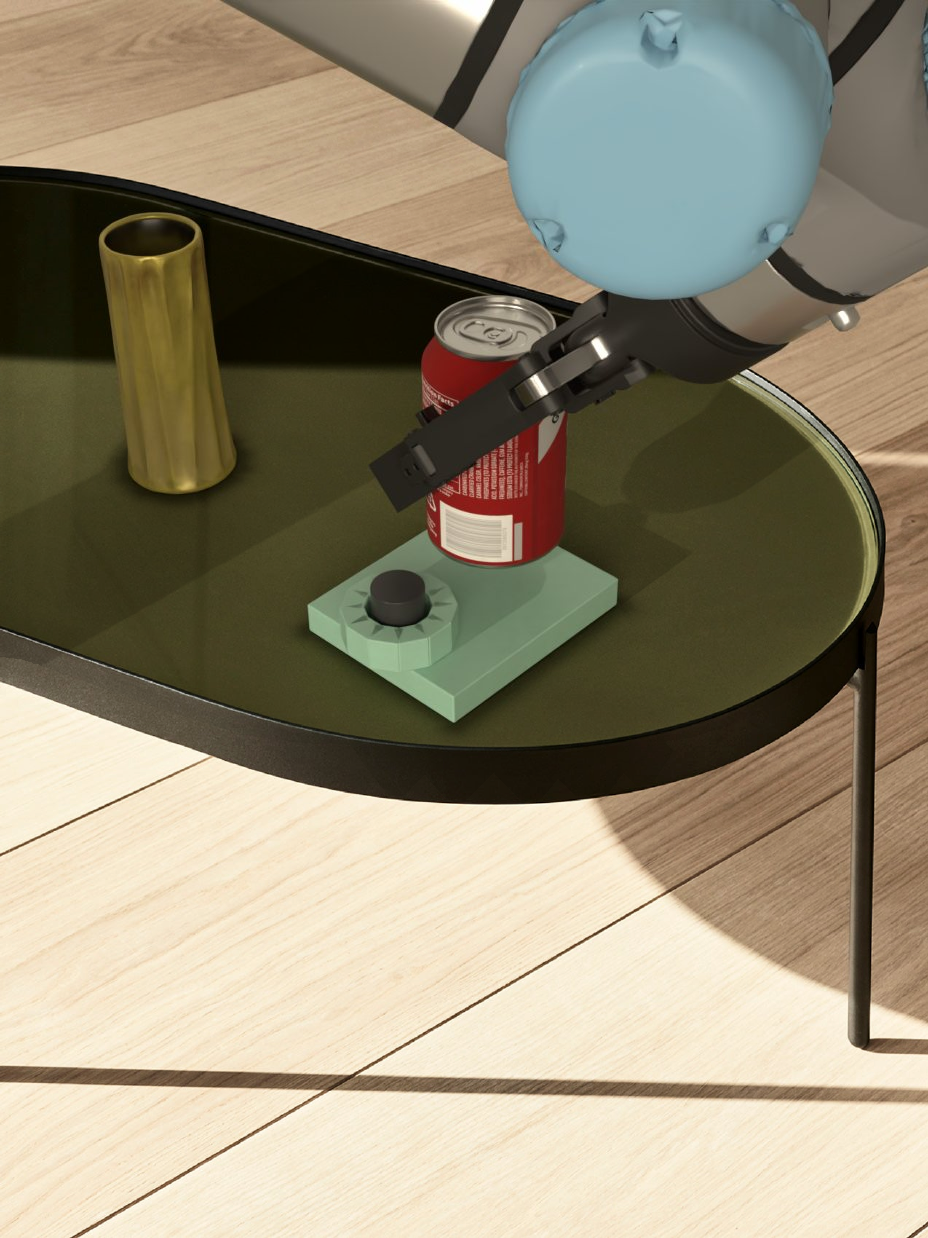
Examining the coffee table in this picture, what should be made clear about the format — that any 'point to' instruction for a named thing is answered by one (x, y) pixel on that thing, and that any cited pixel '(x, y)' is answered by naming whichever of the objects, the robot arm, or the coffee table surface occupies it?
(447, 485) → the soda can
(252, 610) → the coffee table surface
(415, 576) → the tare button
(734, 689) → the coffee table surface
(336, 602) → the scale
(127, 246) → the vase
